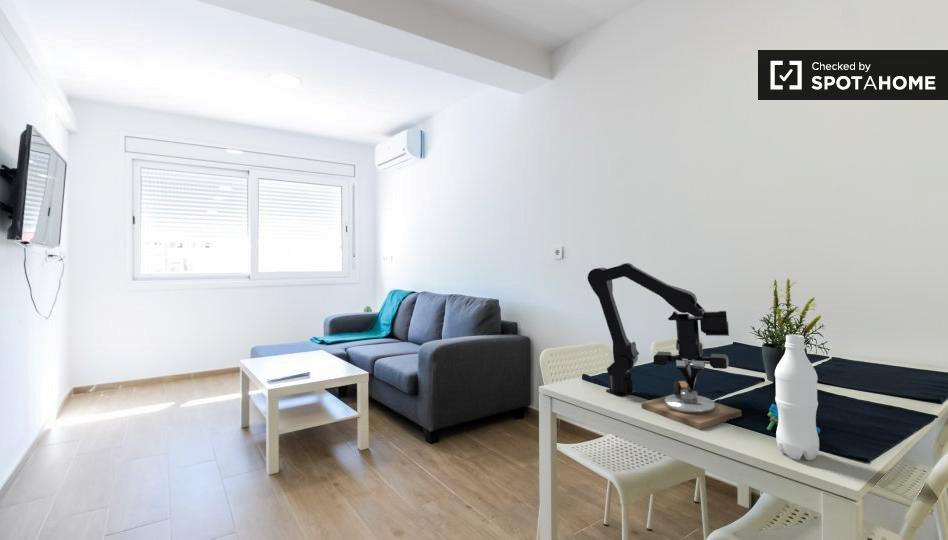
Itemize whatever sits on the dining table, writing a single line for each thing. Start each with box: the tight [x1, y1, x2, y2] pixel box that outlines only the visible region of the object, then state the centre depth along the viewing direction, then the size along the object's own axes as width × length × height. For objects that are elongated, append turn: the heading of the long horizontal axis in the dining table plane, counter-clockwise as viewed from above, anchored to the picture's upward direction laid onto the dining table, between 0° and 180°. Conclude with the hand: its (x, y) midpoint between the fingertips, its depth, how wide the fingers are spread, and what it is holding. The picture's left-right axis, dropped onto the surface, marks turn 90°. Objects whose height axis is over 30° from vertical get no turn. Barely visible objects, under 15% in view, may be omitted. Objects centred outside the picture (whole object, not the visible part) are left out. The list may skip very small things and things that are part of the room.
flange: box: [665, 380, 716, 414], centre depth 120 cm, size 17×12×4 cm
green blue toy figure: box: [766, 403, 822, 434], centre depth 101 cm, size 11×6×10 cm
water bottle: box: [774, 333, 820, 461], centre depth 91 cm, size 7×7×25 cm
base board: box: [640, 380, 742, 430], centre depth 118 cm, size 18×16×6 cm
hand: (692, 389), depth 126 cm, fingers closed
